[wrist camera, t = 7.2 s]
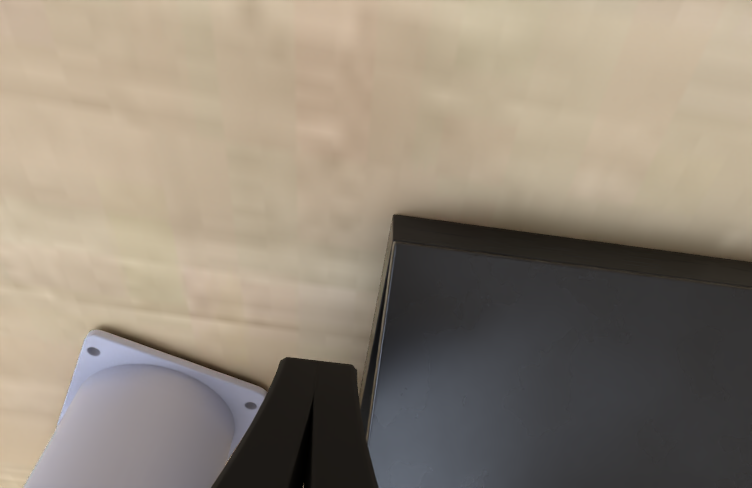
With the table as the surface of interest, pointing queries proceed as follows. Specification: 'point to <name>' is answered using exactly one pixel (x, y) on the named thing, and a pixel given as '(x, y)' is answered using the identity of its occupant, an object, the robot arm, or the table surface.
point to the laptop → (542, 250)
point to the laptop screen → (558, 376)
